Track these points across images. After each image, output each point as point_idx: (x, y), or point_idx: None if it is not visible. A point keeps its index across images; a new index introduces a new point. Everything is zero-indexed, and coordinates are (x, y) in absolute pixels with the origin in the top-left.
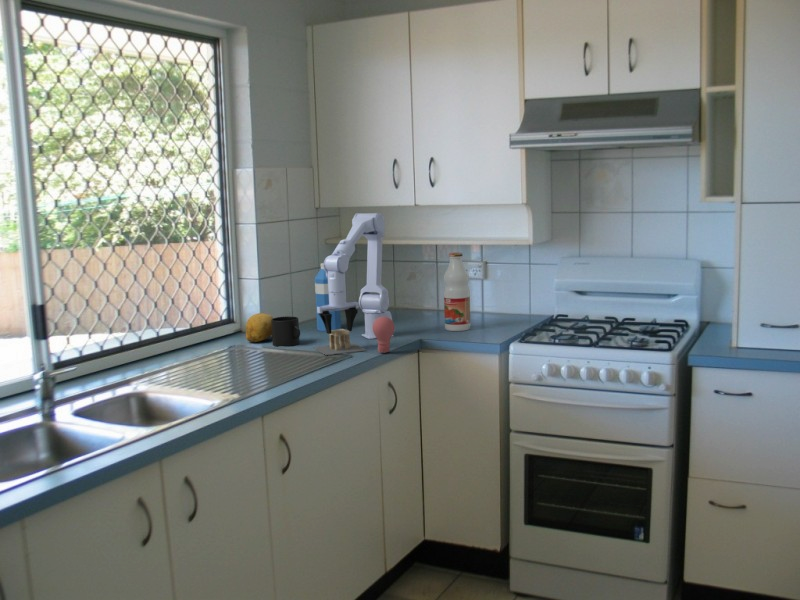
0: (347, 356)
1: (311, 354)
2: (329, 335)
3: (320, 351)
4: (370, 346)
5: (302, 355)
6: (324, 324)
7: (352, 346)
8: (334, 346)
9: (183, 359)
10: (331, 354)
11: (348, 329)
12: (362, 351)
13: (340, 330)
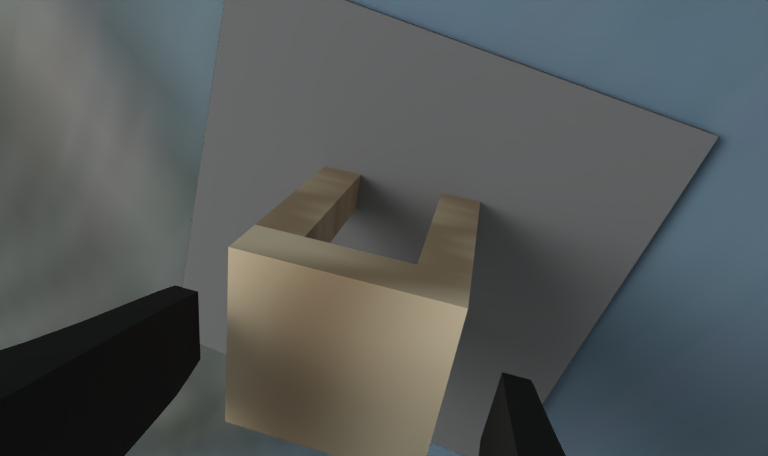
0: (289, 449)
1: (114, 194)
2: (262, 225)
3: (196, 200)
4: (686, 377)
5: (44, 164)
6: (41, 347)
7: (530, 288)
8: (349, 216)
9: None
10: (219, 348)
11: (492, 414)
12: (463, 447)
13: (356, 377)
